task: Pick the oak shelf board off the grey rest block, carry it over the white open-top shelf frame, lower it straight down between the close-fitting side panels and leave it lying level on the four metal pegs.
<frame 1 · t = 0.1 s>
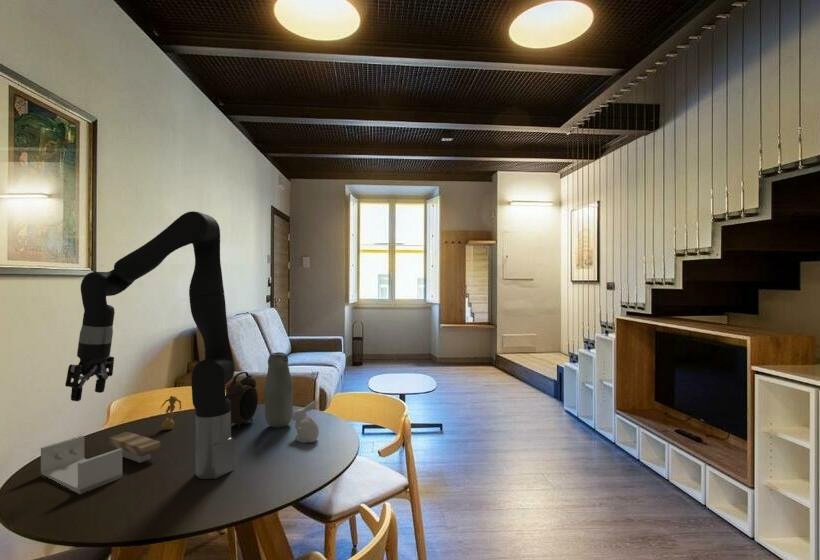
hand: (88, 396, 115), 22 cm above the table, tool pointing down, fingers open, 8 cm apart
figurine: (170, 428, 150), on the table
rabbit: (306, 438, 140), on the table
shelf board: (134, 447, 126), point 3 cm above the table, touching rest block
alarm clock: (242, 425, 154), on the table
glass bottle: (278, 426, 152), on the table
rest block: (134, 456, 126), on the table
shelf frame: (81, 476, 114), on the table
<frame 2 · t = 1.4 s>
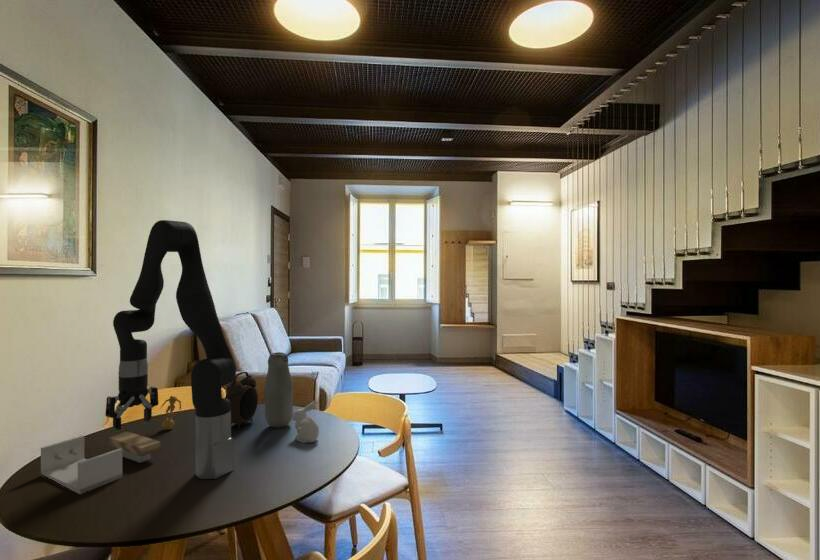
hand: (132, 425, 126), 10 cm above the table, tool pointing down, fingers open, 8 cm apart
nothing on the table moved.
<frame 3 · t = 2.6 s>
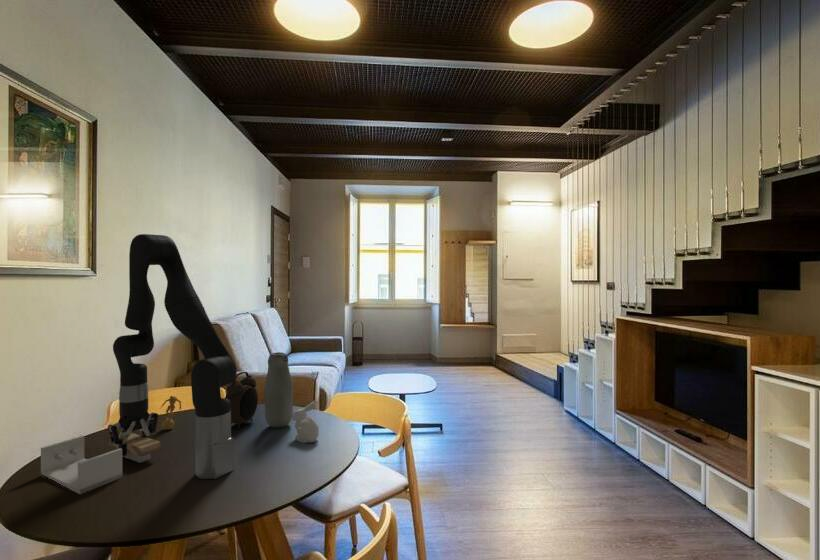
hand: (134, 451, 126), 2 cm above the table, tool pointing down, fingers closed on shelf board, 5 cm apart
shelf board: (134, 447, 126), point 3 cm above the table, touching gripper, rest block
everything else where it was.
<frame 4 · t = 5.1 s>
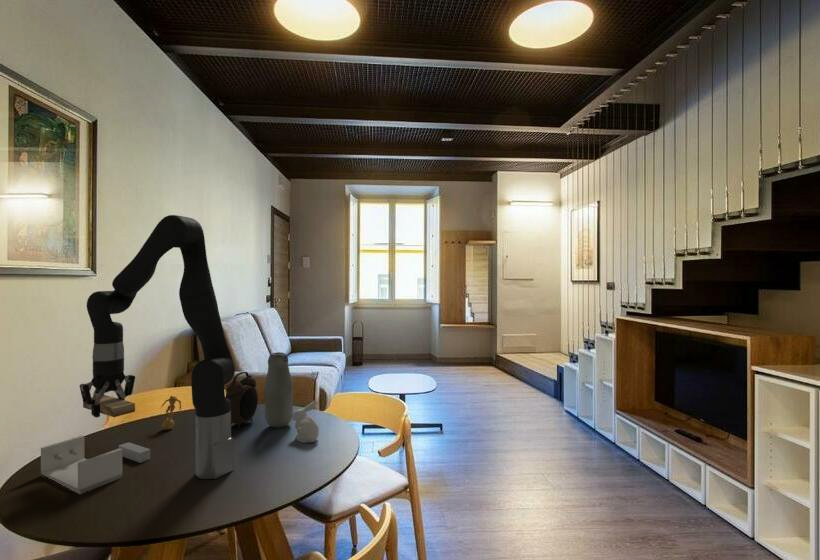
hand: (108, 413, 120), 16 cm above the table, tool pointing down, fingers closed on shelf board, 5 cm apart
shelf board: (108, 409, 120), point 17 cm above the table, touching gripper
everything else where it was.
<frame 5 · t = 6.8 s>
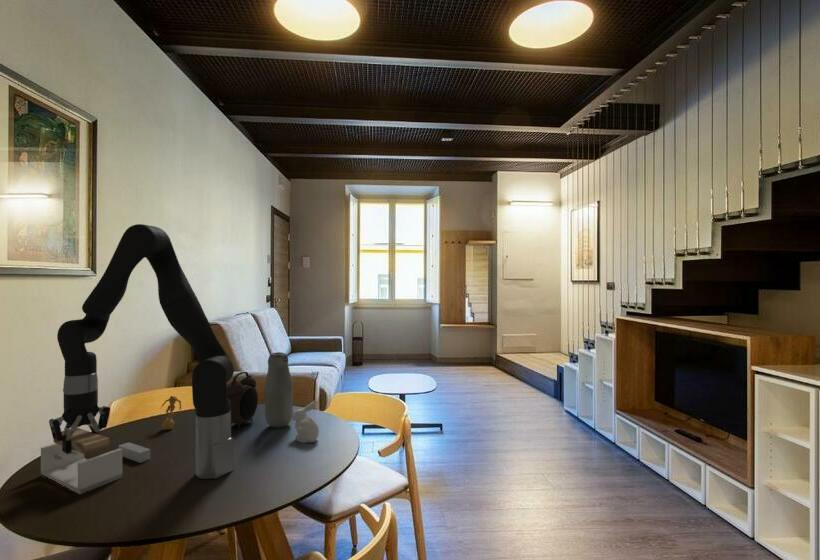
hand: (81, 448, 113), 8 cm above the table, tool pointing down, fingers closed on shelf board, 5 cm apart
shelf board: (80, 444, 113), point 9 cm above the table, touching gripper
everything else where it was.
when the fingers open (5 cm above the table, at t = 7.9 s): shelf board stays where it is, resting on shelf frame.
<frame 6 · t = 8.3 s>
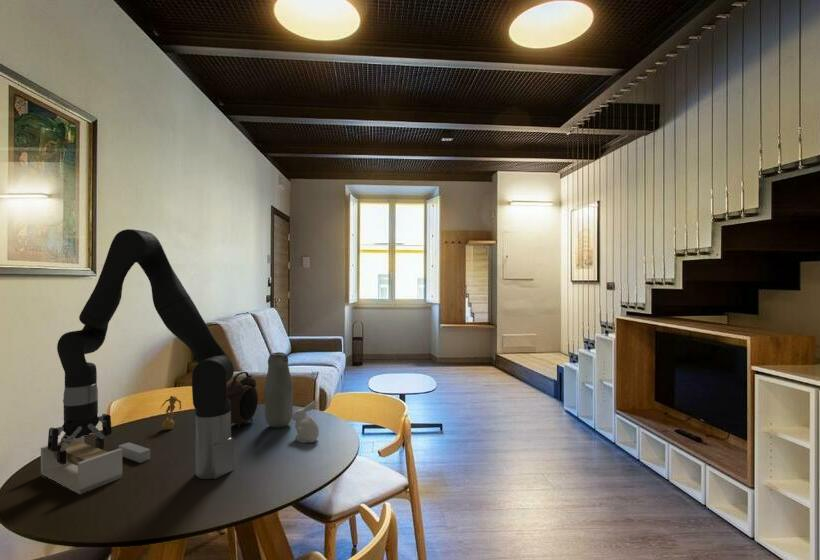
hand: (81, 457, 113), 5 cm above the table, tool pointing down, fingers open, 8 cm apart
shelf board: (81, 458, 114), point 5 cm above the table, touching shelf frame
everything else where it was.
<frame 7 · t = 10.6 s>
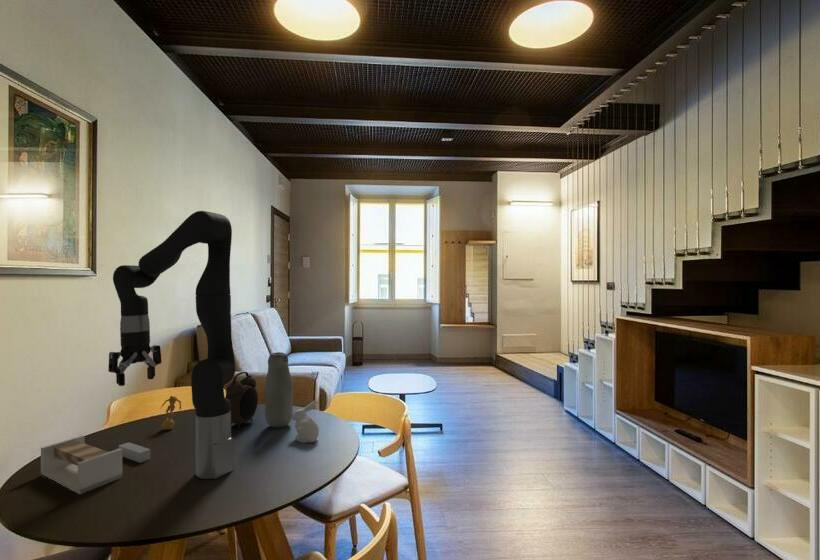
hand: (136, 382, 124), 24 cm above the table, tool pointing down, fingers open, 8 cm apart
nothing on the table moved.
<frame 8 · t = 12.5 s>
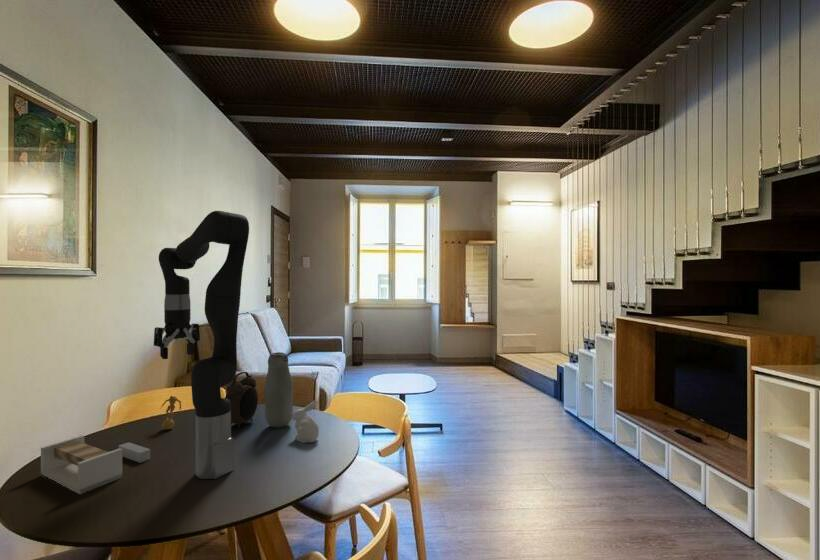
hand: (177, 356, 133), 30 cm above the table, tool pointing down, fingers open, 8 cm apart
nothing on the table moved.
at the end: shelf board 0.1 cm off-centre on the shelf frame, point 5.0 cm above the shelf frame's base; shelf board tilted 0°; the gripper is holding nothing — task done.
